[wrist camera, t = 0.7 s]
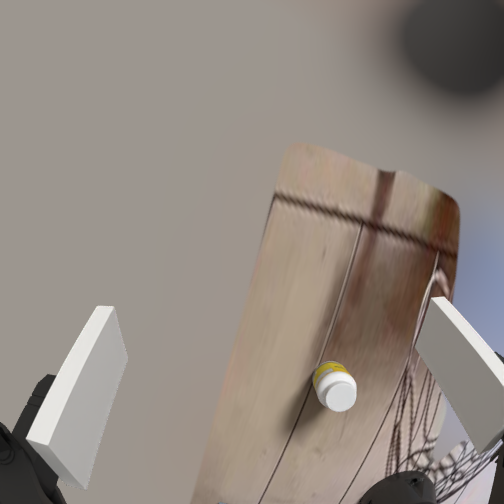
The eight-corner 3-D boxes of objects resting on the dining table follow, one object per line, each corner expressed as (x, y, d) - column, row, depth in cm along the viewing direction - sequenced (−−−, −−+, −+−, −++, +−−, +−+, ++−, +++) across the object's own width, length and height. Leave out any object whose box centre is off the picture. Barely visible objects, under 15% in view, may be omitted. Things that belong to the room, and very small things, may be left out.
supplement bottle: (353, 378, 45) (369, 399, 35) (324, 399, 45) (335, 425, 36) (333, 353, 46) (346, 370, 36) (304, 374, 46) (311, 396, 36)
